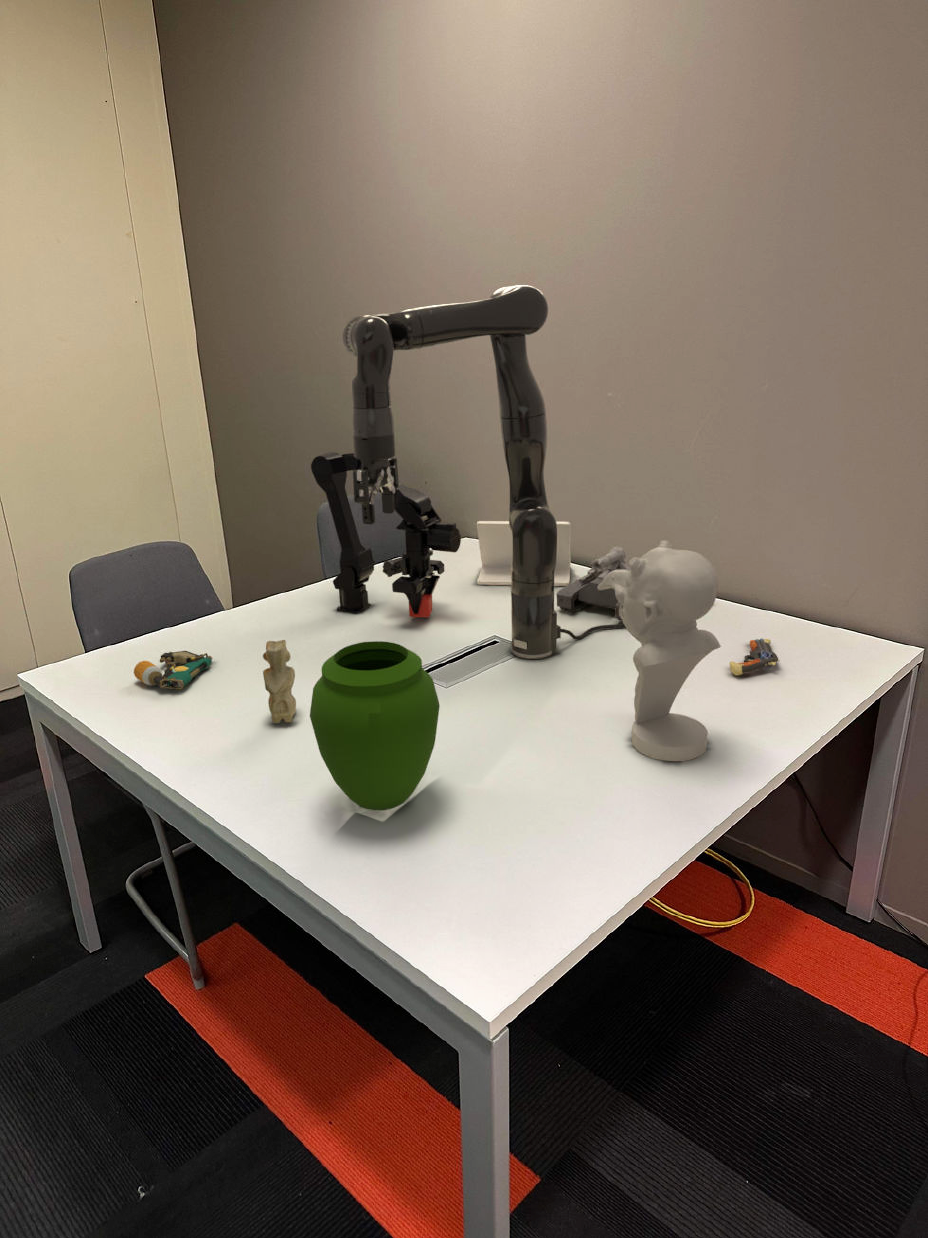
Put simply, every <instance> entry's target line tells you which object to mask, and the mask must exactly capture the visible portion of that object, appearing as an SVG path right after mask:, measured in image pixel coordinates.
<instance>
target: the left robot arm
mask: <svg viewBox="0 0 928 1238" xmlns="http://www.w3.org/2000/svg"><path fill="white" fill-rule="evenodd" d="M361 469H362V461H361V460H358V459H356V458H355V455H354V452H349V453H343V454H340V453H339V452H336V451H331V452H327V453H324V454H321V455H317V456H315V457H314V458H313V459H312V461H311V463H310V470H311V473H312V475H313V477H314V480H315V482H316V484H317V486H319V488H321V490H322V491H323V492H324V493H325V497H326V500H327V503H328V507H329V510H330V514H331V517H332V520H333V524H334V528H335V531H336V534H337V538H338V542H339V545H340V555H339V568H340V570H339V571H340V572H339V573H338V575H337V576H336V577H335V578H334V579H333V580H332V584H333V586H334V587H333V588H334V589H335V590H338V596H339V597H338V598H339V606H338V607H336V611H338V612H339V611H340V612H347V613H354V614H359V613H361V612H363V611H364V610H366V609H367V608H369V607H370V606H372V605H371V603H370V602H369V591H368V590H367V585H366V583H368V582H369V581H370V576H371V575H372V574H373V573H374V571H375V564H376V561H375V559H374V558H373V552H372V549H371V548H367V549H366V548H365V547H364V545H362V543H361V540H360V536H359V532H358V529H357V526H356V522H355V518H354V515H353V511H352V509H351V504H350V501H349V497H348V494H347V490H346V483H347V477H348V472H350V471H352V472H353V471H354V470H361ZM392 478H393V476H392ZM393 480H394V478H393ZM378 493H380V494H381V495H382V494H384V493H382V492H381V490H380V488H379V492H378ZM393 495H394V512H396V513H397V514H398V515H399V517H400V518H401V519H402V520H401V522H400V523H399V524H398V525H397V526H396V527H395V528H396V530H399V531H404V539H405V542H404V543H405V552H404V553H403V554H402V555H401V556H400V557H397V558H394V559H389V560H385V561H384V562H383V564H382V573H383V574H384V575H387V577H388V578H391V577H393V576H395V575H398V574H401V576H399V578H396V580H394V581H393V582H392V584H391V588H392V593H397V594H404V595H405V596H406V598H407V600H408V604H409V603H410V605H411V608H412V611H413V613H414V614H418V612H419V609H420V606H421V602H422V599H423V595H424V594H432V595H433V593H434V591H435V589H436V586H437V584H438V582H439V579H440V578H441V576H440V575H442V574H443V573H445V564H444V562H442V560H437V559H436V560H435V559H431V557H432V556H433V555H434V551H437V552H446V553H457V552H458V551H459V549H460V547H461V542H462V535H461V534H460V529H458V528H457V523H456V522H442V519H441V517H440V515H438V513H437V511H436V510H435V508H434V507H433V505H432V501H431V498H430V497H429V496H427V495H426V494H425V493H423V492H421V491H419V490H417V489H415V488H412V487H409V486H406V485H404V484H403V483H401V482H400V481H399V487H398V488H395V493H394V494H393ZM425 518H426V519H425ZM435 572H437V575H436V574H435Z"/></svg>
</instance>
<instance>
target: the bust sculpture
mask: <svg viewBox="0 0 928 1238" xmlns="http://www.w3.org/2000/svg"><path fill="white" fill-rule="evenodd" d="M628 565H629V569H630V571H628V570H614V571H612V572H610V573H608V574H607V575H606V576H605V578H604V579H603V581H602V582H601V583H600V584H599V585H598V587H597V588H598V590H604V589H609V588H613V589H614V590H615V596H616V598H617V600H618V601H619V602H620V603H621V605H620V608H619V615H620V617H621V619H622V621H621V622H622V624H624V625H625V627H624V628H626V630H627V632H628V633H629V635H631V636H632V637H633V638H635V640H636V641H638V642H639V643H640V645H641V646H640V647H638V649H636V650H635V652H634V653H633V656H632V662H633V664H634V667H635V669H636V671H637V673H638V675H637V678H636V682H635V688H634V698H633V707H634V722H633V723H632V726H631V744H632V746H633V747H634V749H636V750H637V751H638V752H639V753H640V754H642V755H644V756H647V757H650V758H652V759H655V760H661V761H665V762H683V761H689V760H690V761H691V760H694V759H696V758H699V757H700V756H702V755H703V754H704V753H705V752H706V750H707V748H708V747H707V746H708V734H709V733H708V729H707V727H706V726H705V725H704V724H703V723H702V722H700V721H699V720H697V719H696V718H693V717H690V716H687V715H684V714H679V713H673V712H671V710H672V706H673V705H674V702H675V700H676V698H677V696H678V695H679V693H680V691H681V689H682V687H683V685H684V684H685V682H686V681H687V680H688V678H689V676H690V674H691V673H692V672H693V670H694V669H695V668H696V666H697V665H698V664H699V663H700V662H701V661H702V660H703V659H704V658H706V657H707V656H708V655H709V654H711V653H712V652H713V651H714V650H717V649H719V648H721V647H722V645H721V643H720V642H719V640H718V639H717V637H716V636H715V634H713V632H711V631H709V630H706V629H699V628H698V626H697V625H698V623H697V621H698V620H700V619H701V618H703V617H704V616H706V615H707V614H708V613H709V612H710V611H711V609H712V608H713V606H714V604H715V602H716V598H717V595H718V587H719V581H718V575H717V571H716V570H715V567H714V566H713V565H712V562H711V561H709V560H708V559H707V558H706V557H705V556H703V554H700V553H699V552H696V551H693V550H686V549H684V550H683V549H676V548H675V549H674V548H673V547H672V545H671V543H670V541H668V540H661V541H660V542H659V545H658V546H657V547H654V548H652V549H650V550H649V551H647V552H646V553H644V554H643V555H642V556H641V557H632V558H630V559H629V562H628Z"/></svg>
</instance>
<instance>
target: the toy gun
mask: <svg viewBox="0 0 928 1238" xmlns="http://www.w3.org/2000/svg"><path fill="white" fill-rule="evenodd" d="M771 644H772V640H771V639H769V638H759V639H758V638H756V639H752V640H751V639H750V640H749V647H750V649H751V650H749V654H746V655H744V659H743V662H735V661H733V660H732V661H730V662H729V669H730V671H731V673H732V674H733V676H741V675H745V674H749V673H752V672H754V671H758V670H762V669H765V668H768V667H769V666H773V667H775V666H776V664H777V662H780V659H779V657H778V655H777V653H775V652H774V651H773V650H772V648H771Z"/></svg>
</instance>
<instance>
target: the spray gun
mask: <svg viewBox="0 0 928 1238" xmlns="http://www.w3.org/2000/svg"><path fill="white" fill-rule="evenodd" d="M212 660H213V657H212V656H211V655H208V653H207V652H205V653H201V654H197V653H194V652H192V651H191V652H190V651H188V650H180V651H169V652H164V653H162V654H161V655H160V658H159V660H158V662H159V663H161V664H163V663H165V664H166V668H165V670H163V672H164V674H163V673H162V669H160V668H159V666H157V665H156V664H154V663H152V662H151V661H149V660H141V661H139V662H138V663H136V665H135V666H134V668H133V675H134V677H135V678H136V679H137V680H139V681H140V682H142V683H143V684H145V685H147V686H155V685H157V686H158V687H160V688H161V689H171V690H172V689H173V690H182V689H184V687H185V686H186V685H188V684H189V683H190V682H191V681H192V679H193V678H195V677H196V676H197V675H198V674H200V673H201V672H202V671H203V670H206V669H208V668H209V667H210V666H211V665H212V662H213V661H212ZM178 663H179V664H181V665H179V666H176V665H177V664H178Z"/></svg>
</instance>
